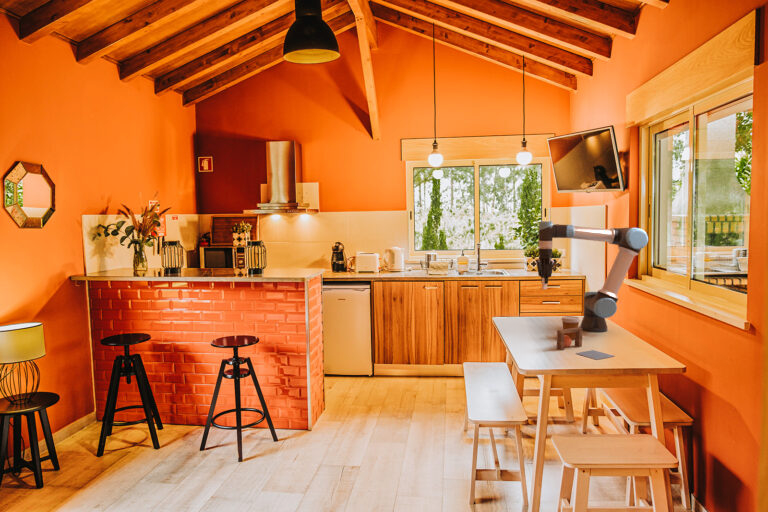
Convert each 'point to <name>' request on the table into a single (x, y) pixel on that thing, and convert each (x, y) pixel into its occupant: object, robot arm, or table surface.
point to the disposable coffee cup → (570, 325)
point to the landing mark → (595, 354)
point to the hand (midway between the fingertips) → (544, 288)
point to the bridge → (561, 332)
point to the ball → (567, 341)
